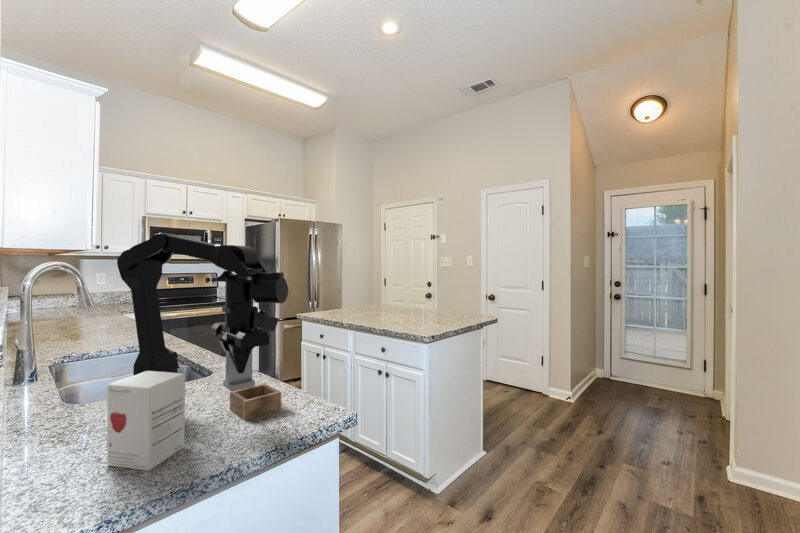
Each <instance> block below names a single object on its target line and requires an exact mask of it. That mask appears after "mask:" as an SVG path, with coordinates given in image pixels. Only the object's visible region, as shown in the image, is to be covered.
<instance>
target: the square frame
mask: <svg viewBox="0 0 800 533" xmlns="http://www.w3.org/2000/svg"><path fill="white" fill-rule="evenodd" d="M281 404H282V391H280V390H278V389H275V388H274V387H272V386H270V385H268V384H266V383H262V384H258V385H257V384H255V386H253V387H249V388H245V389H240V390H236V391H229V411H230V412H231V413H233V412H234V414H235V415H236V416H237V415H238V418H240V419H242V420H243V421H244V422H245V421H249V420H253V419H256V418H258V417H259V416H260V417H262V415H263V416H266V415H269V413H270V414H272V412H273V413H276V412H279V410H280V411H281V410H282V405H281Z"/></svg>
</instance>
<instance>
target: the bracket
mask: <svg viewBox="0 0 800 533" xmlns="http://www.w3.org/2000/svg"><path fill="white" fill-rule="evenodd" d="M222 383H223V384H222V385H223V387H225V388H226V389H227V390H229V392H231V391H236V390H240V389H245V388H249V387H253V386H256V380H254V379H253V349H252V350H251V353H250V355H249V358H248V361H247V364H246V368H245V371H244V373H241V374H239V373H238V371H237V368H236V366H235V363H234V360H233V357H232V354H231V351H230V350H226V353H225V379H223V380H222Z"/></svg>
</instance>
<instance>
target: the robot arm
mask: <svg viewBox="0 0 800 533" xmlns="http://www.w3.org/2000/svg"><path fill="white" fill-rule="evenodd" d="M174 253H175V254H179V255H184V256H188V257H191V258H196V259H199V260H200V259H201V260H205V261H208V262H210V263H212V264H213V265H215V267H217V268H220V269H223V271H222V273H221V274H220V275H219V276H218V277H216V279H215V280H216V282H222V283H223V282H224V283H225V289H224V291H225V295H224V296H225V299H224V300H225V301H224V302H225V303H224V304H225V305H224V306H221V307H222V308H221V311H222V312H224V321H220V322H215V323H213V325H212V326H211V328H210V335H211V336H213V337H218V336H219V335H221V336H222V337H221V338H220V339H218V343H219V344H220V345H221V347H222V349H223V351H224V353H225V354H226V350H230V351H231V354H232V357H233V360H234V363H235V366H236V368H237V371H238V373H239V374H241V373H244V371H245V368H246V364H247V361H248V358H249V355H250V353H251V350H252V351H253V349H255V347H262V346H263V347H264V346H266V345H267V346H269V345H270V344H271V339H272V338H271V334H270V333H269V332H267V331H266V330H268V331H270V332H273V333H274V332H276V329H277V327H278V326H277V325H278V323H279V318H278V317H277V318H276V317H273V316H270V315H267V311H266V310H263V309H262V310H261V309H259V308H258V307H257V306H255V305H254V302H255V303H258V304H259V303H260V304H262V303H263V304H284V303H285V302H286V301H287V298H288V295H289V286H288V282H287V280H286V278H285V277H284V276H285V275H284V272H283V271H282V272H281V271H279V272H275V271H274V272H268V271H267V270H266V268H265V267H264V265H263V264H262V263H261V261H260V259H259V257H258V254H257V251H256V249H254V248H253V247H252V246H247V245H233V244H232V245H231V244H215V243H211V242H207V241H202V240H197V239H192V238H188V237H184V236H181V235H180V236H179V235H177V234H175V233H165V232H159V233H156V234H155V235H153V236H152V237H151V238H149V239H147V240H145V241H142V242H139V243H137V244H135V245H133V246H132V247H130V248H129V249H126V250H123V251H122V252H121V254H120V255H119V256H118V257H117V259H116V265H117V268H118V272H119V276H120V278H121V280H122V281H123V282H124V284H126V286H127V287H128V288H129V289H130V292H131V299H132V300H131V301H132V305H133V313H134V321H135V328H136V335H137V341H138V342H137V343H138V349H139V350H138V351H139V352H138V354H137V357H136V359H135V361H134V364H133V372H132V373H133V374H132V376H134V375H137V374H139V373H142V372H145V371H157V372H170V373H179V372H178V371H179V369H180V365H179V362H178V353H177V352H176V351H173V352H171V351H170V350H169V349H168V348H167V346H166V344H165V343H166V342H165V336H164V330H163V329H164V328H163V322H162V315H161V308H160V307H161V306H160V300H159V294H158V284H159V282H160V281H161V278H162V275H163V266H164V265H165V264H166V263H167V262H169V261H170V260H171V258H172V256H174Z"/></svg>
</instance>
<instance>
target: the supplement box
mask: <svg viewBox="0 0 800 533" xmlns="http://www.w3.org/2000/svg"><path fill="white" fill-rule="evenodd" d="M106 389H107V398H106V399H107V401H106V402H107V403H106V404H107V429H106V430H107V434H106V435H107V436H106V437H107V439H106V440H107V441H106V442H107V443H106V445H107V449H106V450H107V452H106V453H107V454H106V456H107V464H106V465H107V467H109V466H110V467H115V468H117V467H118V468H125V469H132V470H140V471H148V472H149V471H151V470H152V469H155V467H156V466H159V465H160V464H162V463H163V462H165V460H167V459H169V458H170V457H172V456H173V455H175V454H177V452H179V451H180V450H182V449H184V448H185V422H186V421H185V420H186V418H185V417H186V416H185V413H186V412H185V411H186V410H185V408H186V374H185V373H180V372H178V373H170V372H157V371H145V372H142V373H139V374H137V375H134V376H133V375H132V376H128V377H125V378H122V379H118V380H116V381H112V382H111V383H108V384H107V388H106Z"/></svg>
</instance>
